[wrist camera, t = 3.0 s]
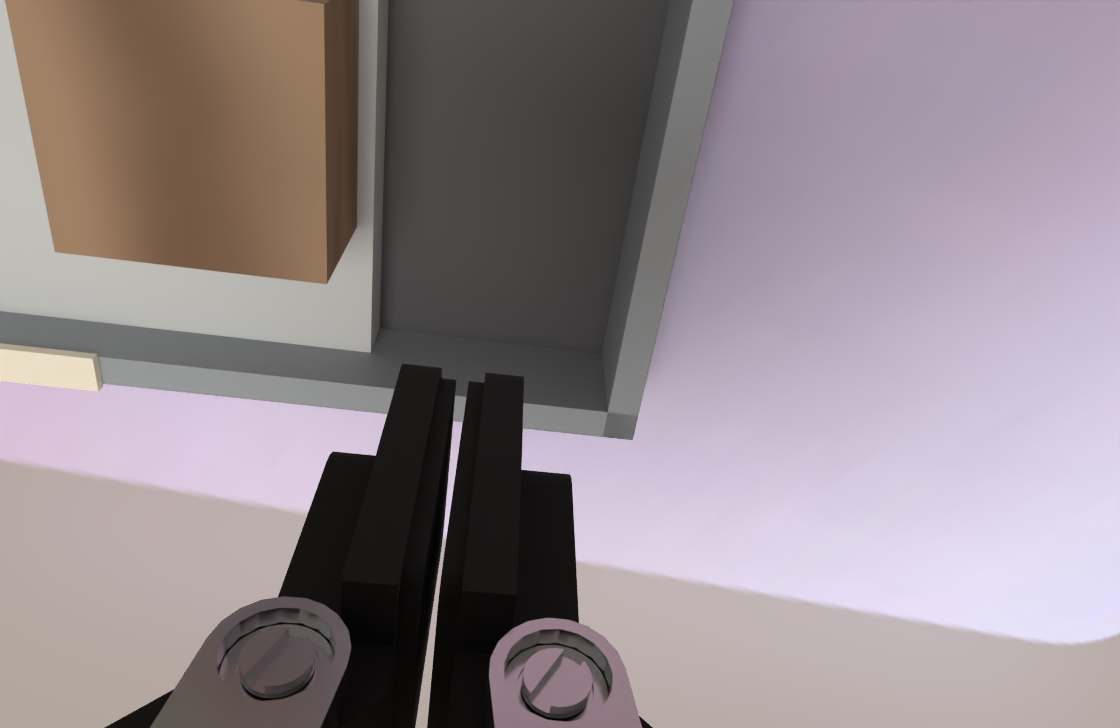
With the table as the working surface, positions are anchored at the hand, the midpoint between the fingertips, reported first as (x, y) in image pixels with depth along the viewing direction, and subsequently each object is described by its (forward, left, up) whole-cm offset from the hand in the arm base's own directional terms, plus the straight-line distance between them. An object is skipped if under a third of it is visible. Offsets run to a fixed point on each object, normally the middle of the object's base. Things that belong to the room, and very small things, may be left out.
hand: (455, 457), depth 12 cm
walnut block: (+8, 0, -15) cm, 17 cm away
